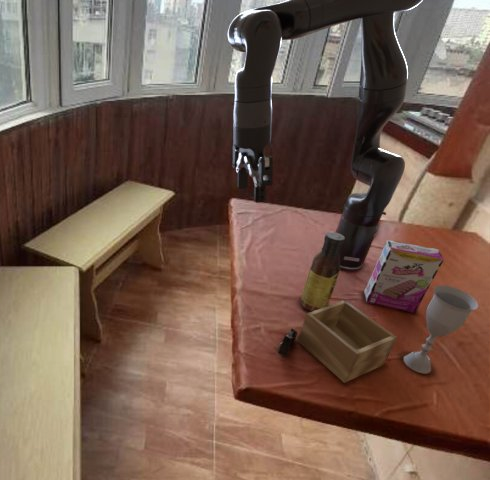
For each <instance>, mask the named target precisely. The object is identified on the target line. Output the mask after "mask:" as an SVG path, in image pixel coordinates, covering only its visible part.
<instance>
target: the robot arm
mask: <svg viewBox="0 0 490 480" xmlns="http://www.w3.org/2000/svg"><path fill="white" fill-rule="evenodd" d="M423 1H424V0H284V1H281V2H279V3H273V4H269V5H264V6H260V7H256V8H252V9H249V10H246V11H243V12H241V13H239V14H237V16H235V17H234V18H233V20H232V21H231V23H230V24H229V27H228V30H227V39H228V40H227V41H228V43H229V45H230V46H231V47H232V48H233V49H234V50H236V51H238V52H241V53H245V58H244V64H243V67H241V68H239V69H238V70H237V71H236V73H235V76H234V102H233V103H234V104H233V111H232V112H233V115H232V117H233V118H232V123H233V124H232V125H233V126H232V127H233V128H232V129H233V130H232V132H233V133H232V134H233V137H232V139H233V140H232V143H233V144H232V168H233V169H235V172H236V173H237V178H236V179H237V184H236V185H237V188H238V189H239V190H243V189H247V188H248V186H249V177H250V178H252V181H253V183H254V184H253V185H254V187H253V188H254V189H253V190H254V191H253V201H254V202H255V203H257V204H260V203H263V202H265V201H266V195H267V194H266V193H267V191H266V190H267V187H269V186H272V185H273V182H274V181H273V180H274V179H273V176H274V175H273V172H274V171H273V170H274V158H273V156H271V155H270V156H266V155H265V148H266V147H267V146H269V145H270V144H271V141H272V126H273V125H272V124H273V103H272V92H273V91H272V89H273V73H274V71H275V68H276V64H277V61H278V57H279V54H280V49H281V46H282V41H289V40H290V41H291V40H296V39H300V38H302V37H305V36H309V35H312V34H314V33H317V32H320V31H323V30H325V29H328V28H332V27H335V26H337V25H341V24H344V23H345V24H346V23H348V22H352V21H355V20H359V19H360V26H361V29H360V30H361V51H360V52H361V53H360V54H361V55H360V74H359V82H358V84H359V85H358V104H357V105H358V107H357V119H356V131H355V138H354V144H353V148H352V154H351V161H350V173H351V176H352V177H353V179H355V180H356V181H358V182H360V183H362V184H364V185H367V186H368V187H369V188H368V190H367V192H354V193H351V194H349V195H348V196H347V198H346V200H345V203H344V207H343V209H342V212H341V215H340V218H339V222H338V223H337V227H336V229H335V232H336V233H339V234H341V235H343V236H344V237H345V240H344V244H343V245H342V247H341V250H340V254H339V255H340V270H344V271H349V272H350V271H351V272H355V271H359V270H361V269H362V267H363V265H364V263H365V262H366V258H367V256H368V254H369V251H370V249H371V247H372V244H373V242H374V239H375V235H376V234H377V232H378V230H379V227H380V221H381V218H382V216H383V215H384V216H386V215H387V212H386V211H385V209H387V207H388V205H389V204H390V203H391V201H392V199H393V197H394V194H395V192H396V191H397V188H398V185H399V184H400V182H401V179H402V178H403V175H404V173H405V169H406V162H405V159H404V158H403V157H402V156H400V155H398V154H395V153H392V152H390V151H388V150H384V149H382V148H381V136H382V131H383V129H384V128H385V126H386V125H387V124H388V122H389V121H391V120H392V118H393V117H394V116H395V115H396V114H397V113H398V111H399V110H400V109H401V107H402V106H403V104H404V102H405V99H406V92H407V86H408V85H407V84H408V76H409V71H408V65H407V60H406V58H405V55H404V53H403V51H402V50H403V49H402V48H401V46H400V44H399V41H398V37H397V36H396V31H395V13H400V12H405V11H410V10H412V9H414V8H415V7H417V6H418V5H420V4H421V3H422V2H423Z"/></svg>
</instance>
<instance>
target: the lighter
mask: <svg viewBox="0 0 490 480" xmlns="http://www.w3.org/2000/svg"><path fill="white" fill-rule="evenodd" d="M298 333H299V331H296V330H295V329H293V328H291V329H289V331H288V333H287V334H285V335H284V337H283V340H282V342H279V344H278V345H277V348H278V352H277V353H278V354H279V355H281V356H283V357H285V356H286V355H288V353H289V351H290V348H291V347H292V346H293V345H294V343H295V341H296V338H297V337H298Z"/></svg>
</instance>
